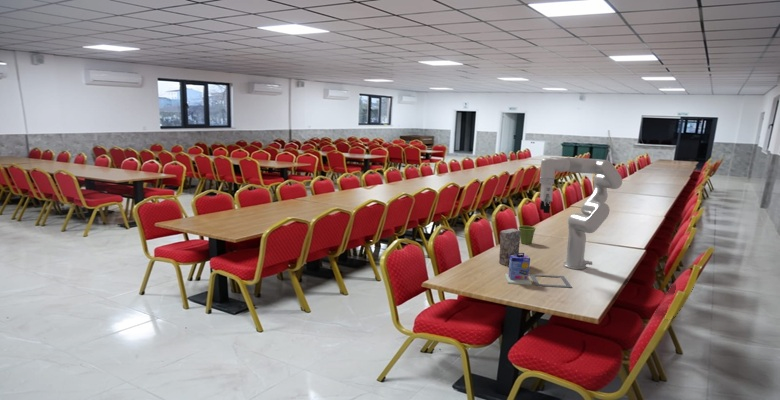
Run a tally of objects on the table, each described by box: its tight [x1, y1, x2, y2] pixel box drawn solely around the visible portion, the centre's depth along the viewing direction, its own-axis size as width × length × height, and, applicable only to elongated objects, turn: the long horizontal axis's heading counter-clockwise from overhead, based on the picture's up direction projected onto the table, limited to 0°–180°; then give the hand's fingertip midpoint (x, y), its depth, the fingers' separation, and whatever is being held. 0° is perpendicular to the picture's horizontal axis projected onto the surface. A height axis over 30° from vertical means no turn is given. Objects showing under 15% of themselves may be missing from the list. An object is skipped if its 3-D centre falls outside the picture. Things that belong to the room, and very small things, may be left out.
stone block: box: [498, 228, 521, 266], centre depth 282 cm, size 13×7×20 cm, turn 135°
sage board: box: [504, 273, 533, 286], centre depth 253 cm, size 12×14×1 cm
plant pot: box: [518, 225, 537, 245], centre depth 330 cm, size 12×12×11 cm
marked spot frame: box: [529, 273, 573, 289], centre depth 253 cm, size 18×18×1 cm
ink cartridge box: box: [508, 252, 531, 280], centre depth 252 cm, size 10×6×14 cm, turn 91°
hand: (544, 211), depth 265 cm, fingers open, 9 cm apart
